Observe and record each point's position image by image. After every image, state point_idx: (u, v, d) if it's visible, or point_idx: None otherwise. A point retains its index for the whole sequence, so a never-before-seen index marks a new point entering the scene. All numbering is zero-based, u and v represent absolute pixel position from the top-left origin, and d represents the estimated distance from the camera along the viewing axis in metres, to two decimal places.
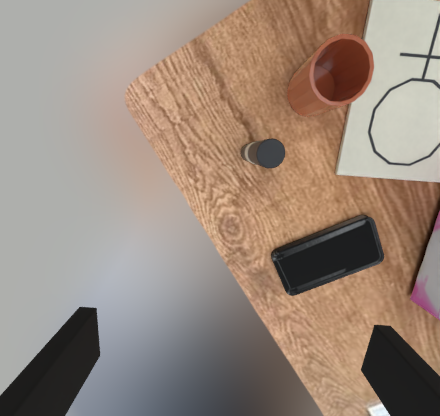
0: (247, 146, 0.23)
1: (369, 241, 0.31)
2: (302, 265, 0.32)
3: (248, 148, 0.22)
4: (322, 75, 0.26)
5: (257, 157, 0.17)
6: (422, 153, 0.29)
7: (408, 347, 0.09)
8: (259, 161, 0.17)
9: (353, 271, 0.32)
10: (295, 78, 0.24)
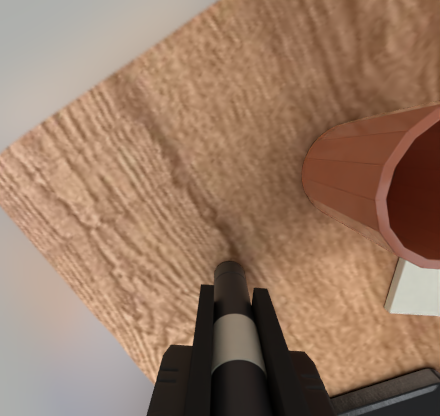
0: (214, 333, 0.10)
1: None
2: None
3: (211, 374, 0.08)
4: None
5: None
6: None
7: (271, 303, 0.11)
8: None
9: None
10: (322, 164, 0.11)
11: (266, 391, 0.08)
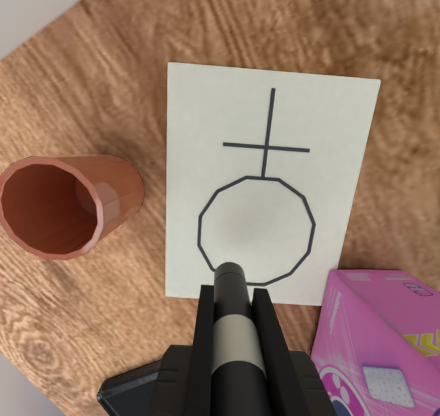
0: (214, 334, 0.10)
1: None
2: (139, 404, 0.24)
3: (211, 375, 0.08)
4: None
5: None
6: (279, 270, 0.20)
7: (271, 303, 0.11)
8: None
9: None
10: None
11: (266, 392, 0.08)
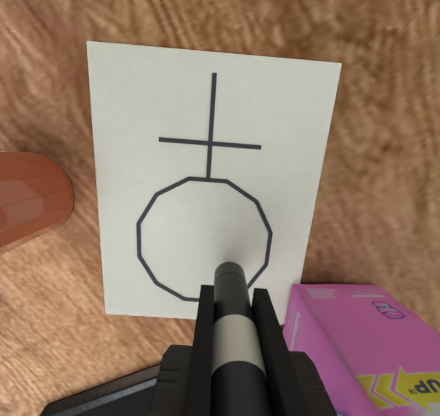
0: (214, 334, 0.10)
1: None
2: None
3: (211, 375, 0.08)
4: None
5: None
6: None
7: (271, 303, 0.11)
8: None
9: None
10: None
11: (266, 392, 0.08)
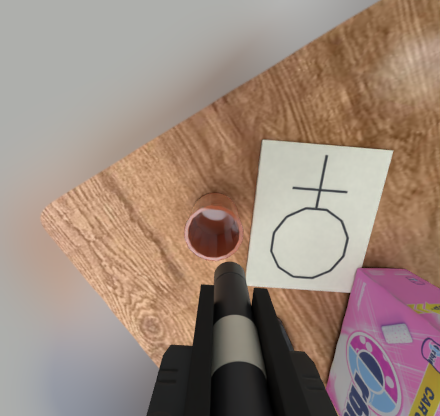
0: (215, 334, 0.10)
1: None
2: None
3: (211, 375, 0.08)
4: None
5: None
6: (323, 268, 0.31)
7: (271, 303, 0.11)
8: None
9: None
10: None
11: (266, 393, 0.08)
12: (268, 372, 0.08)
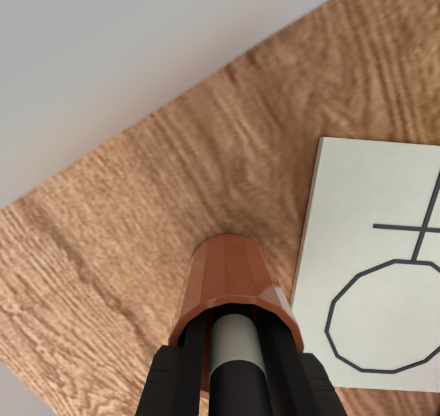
0: (214, 333, 0.10)
1: None
2: None
3: (211, 374, 0.08)
4: None
5: None
6: (413, 357, 0.18)
7: None
8: None
9: None
10: None
11: (265, 391, 0.08)
12: (277, 374, 0.08)
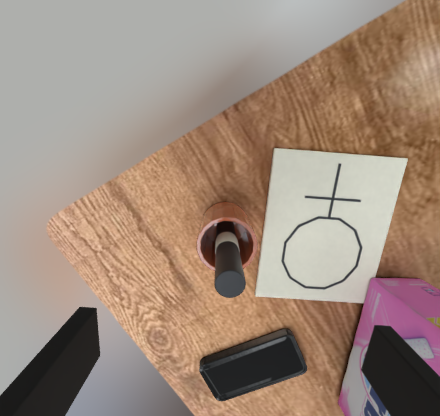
0: (217, 238, 0.22)
1: (291, 354, 0.32)
2: (229, 375, 0.33)
3: (216, 247, 0.20)
4: None
5: (215, 287, 0.16)
6: (336, 278, 0.30)
7: (408, 347, 0.09)
8: (218, 291, 0.16)
9: (279, 380, 0.33)
10: None
11: (237, 249, 0.20)
12: None
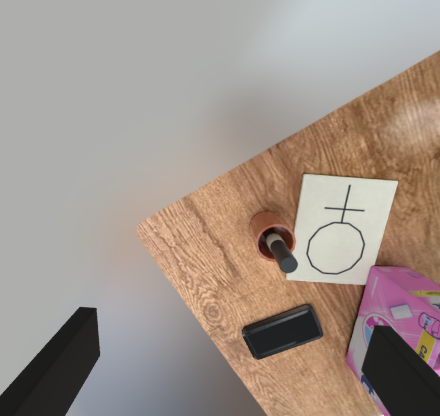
0: (268, 238, 0.33)
1: (312, 323, 0.43)
2: (264, 339, 0.44)
3: (270, 244, 0.31)
4: None
5: (280, 267, 0.27)
6: (345, 266, 0.41)
7: (408, 347, 0.09)
8: (281, 269, 0.27)
9: (301, 343, 0.45)
10: (251, 229, 0.37)
11: (285, 245, 0.31)
12: None
